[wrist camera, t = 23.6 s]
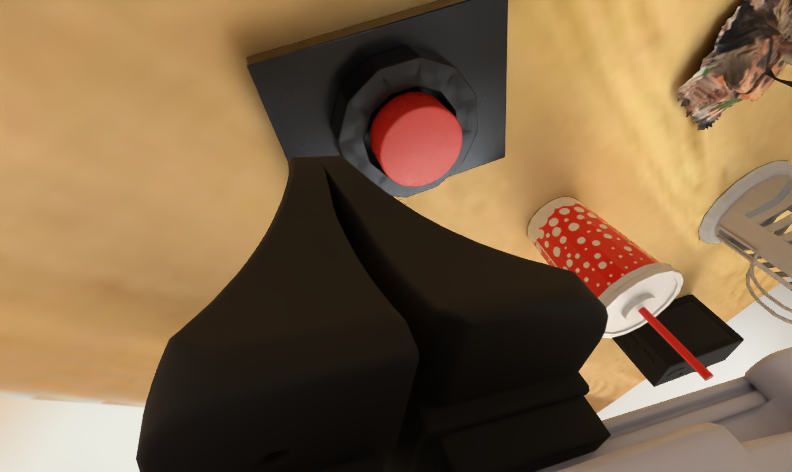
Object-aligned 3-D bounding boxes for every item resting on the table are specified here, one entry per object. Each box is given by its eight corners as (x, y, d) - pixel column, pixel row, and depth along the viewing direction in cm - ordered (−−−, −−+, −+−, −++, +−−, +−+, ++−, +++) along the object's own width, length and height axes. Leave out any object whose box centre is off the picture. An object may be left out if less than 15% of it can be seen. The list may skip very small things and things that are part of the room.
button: (378, 179, 20) (389, 198, 19) (360, 106, 18) (371, 123, 16) (450, 154, 21) (465, 171, 20) (443, 79, 18) (460, 94, 17)
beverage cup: (578, 238, 34) (728, 386, 24) (514, 258, 33) (641, 422, 23) (596, 179, 30) (787, 326, 20) (523, 199, 29) (685, 367, 19)
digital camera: (606, 343, 50) (649, 393, 45) (621, 316, 47) (669, 368, 42) (672, 320, 52) (720, 366, 47) (691, 293, 49) (745, 340, 44)
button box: (311, 211, 24) (320, 244, 21) (245, 57, 17) (248, 80, 15) (495, 148, 25) (521, 172, 23) (495, -17, 19) (531, -5, 16)
